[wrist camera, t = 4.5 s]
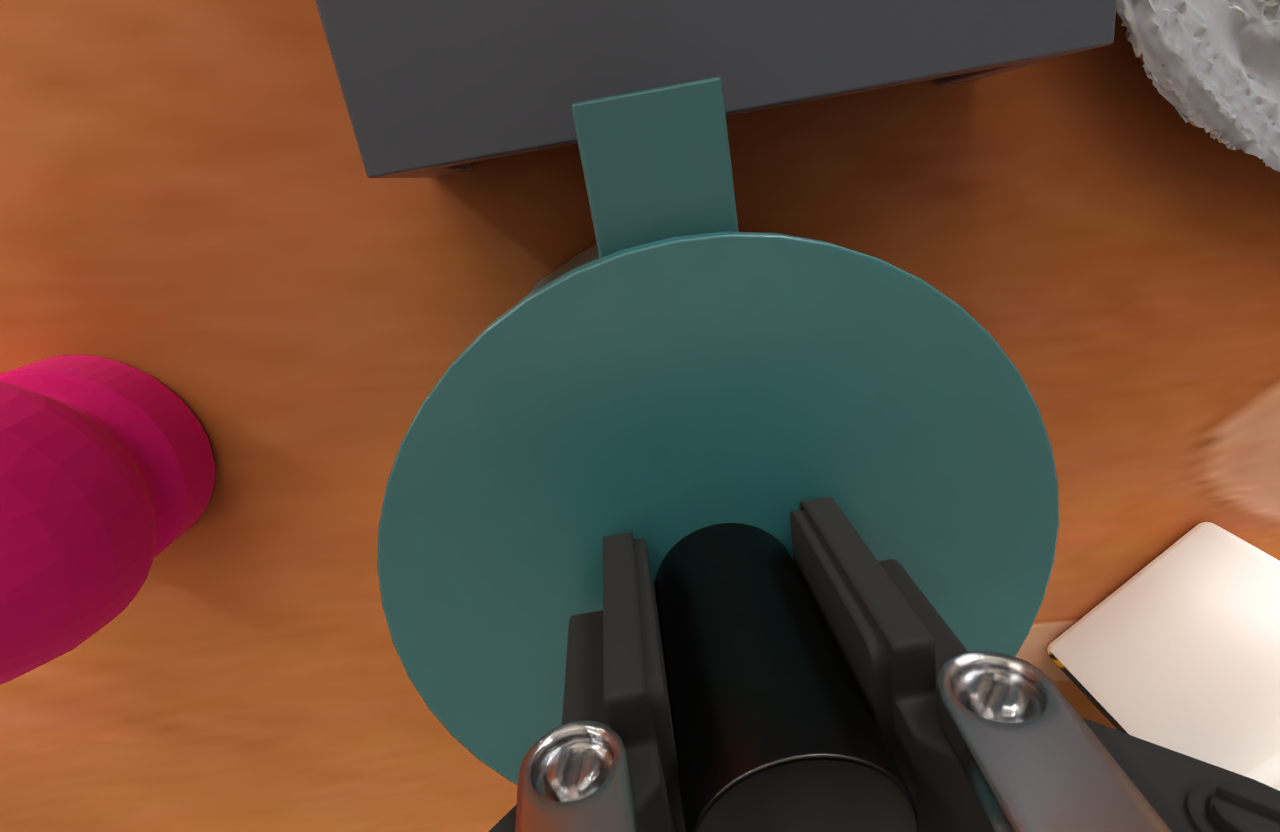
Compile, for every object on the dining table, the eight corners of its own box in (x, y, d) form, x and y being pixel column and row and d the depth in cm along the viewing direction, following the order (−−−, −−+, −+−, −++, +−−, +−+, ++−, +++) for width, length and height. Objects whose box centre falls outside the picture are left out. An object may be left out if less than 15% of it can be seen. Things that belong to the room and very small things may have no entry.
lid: (485, 827, 15) (415, 1218, 10) (300, 299, 11) (-28, 434, 5) (1014, 734, 15) (1264, 1071, 9) (1037, 167, 11) (1521, 157, 5)
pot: (551, 662, 23) (525, 913, 15) (417, 163, 18) (265, 152, 10) (867, 606, 23) (1005, 830, 15) (838, 87, 18) (1035, 13, 10)
